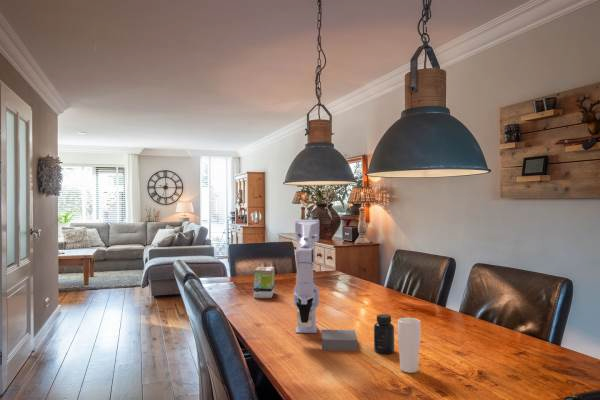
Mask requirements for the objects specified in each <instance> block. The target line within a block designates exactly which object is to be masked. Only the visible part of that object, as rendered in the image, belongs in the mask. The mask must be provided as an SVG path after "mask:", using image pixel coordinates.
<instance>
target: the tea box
mask: <svg viewBox="0 0 600 400" xmlns="http://www.w3.org/2000/svg"><path fill="white" fill-rule="evenodd" d="M275 268H276V267H275V266H256V268H255V269H254V272H253V274H254V275H253V276H254V277H253V281H254V282H253V298H255V299H256V298H257V299H259V298H260V299H272V297H273V296H274V293H275Z"/></svg>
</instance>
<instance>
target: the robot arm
mask: <svg viewBox="0 0 600 400" xmlns="http://www.w3.org/2000/svg"><path fill="white" fill-rule="evenodd" d="M294 224H295V226H294V228H295V229H294V232H295V238H296V241H297V243H298V245H297V249H296V250H295V262H296V270H297V271H296V272H297V273H296V285H295V287H294V291H293V304H294V305H293V306H294V307H295V308H296V309H297V311H298V309H299V312H300V317H301V322H302V323H307V322H308V318H309V312H310V309H312V327H302V326H297V325H296V329H295V333H296V334H300V333H301V334H304V333H305V334H310V333H311V334H316V333H317V331H318V328H317V327H318V326H317V325H316V324H317V323H316V322H317V320H316V319H317V315H316V314H317V313H316V312H317V309H316V308H318V307H319V306H320V291H319V290H320V289H319V286H318V285H316V284H315V283H314V265H315V258H316V257H315V255H316V254H315V253H316V252H315V248H314V245H315V243H317V242H319V239H320V220H319V219H318V218H317V219H296V220H295V223H294Z"/></svg>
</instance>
